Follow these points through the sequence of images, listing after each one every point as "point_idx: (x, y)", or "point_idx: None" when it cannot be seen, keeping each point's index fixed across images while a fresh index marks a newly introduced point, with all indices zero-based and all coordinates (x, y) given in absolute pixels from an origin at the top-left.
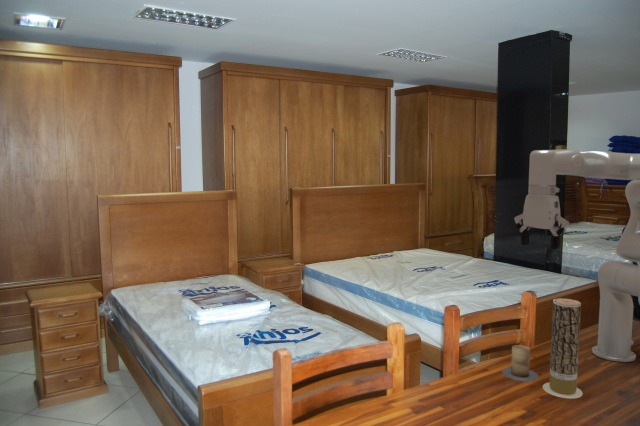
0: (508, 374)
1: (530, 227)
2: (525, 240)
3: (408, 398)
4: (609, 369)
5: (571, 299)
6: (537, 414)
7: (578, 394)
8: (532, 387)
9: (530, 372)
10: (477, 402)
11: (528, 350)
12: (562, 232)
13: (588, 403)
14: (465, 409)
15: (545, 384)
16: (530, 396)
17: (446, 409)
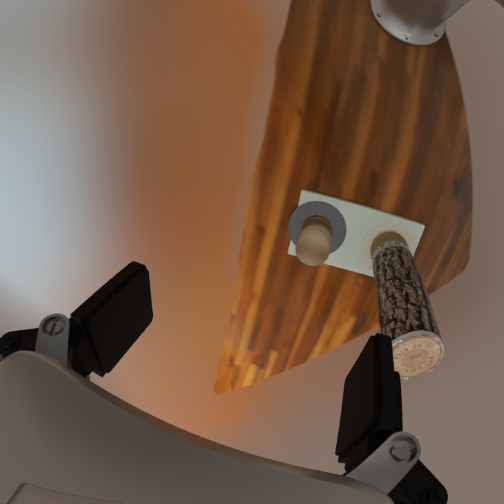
0: None
1: (67, 362)
2: (135, 323)
3: (239, 350)
4: (427, 89)
5: (425, 335)
6: (369, 318)
7: (410, 250)
8: None
9: (329, 212)
10: (300, 327)
11: (328, 255)
12: (417, 482)
13: (421, 254)
14: (297, 345)
15: (362, 245)
16: (351, 279)
17: (281, 353)
